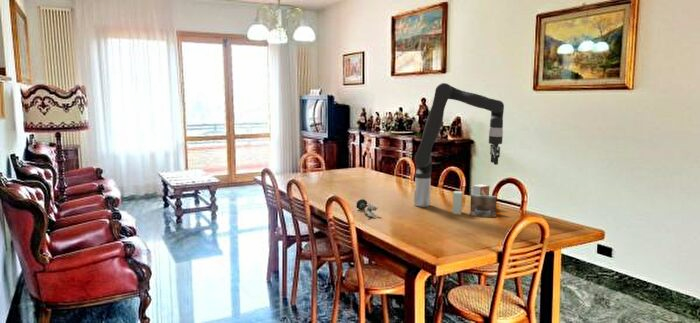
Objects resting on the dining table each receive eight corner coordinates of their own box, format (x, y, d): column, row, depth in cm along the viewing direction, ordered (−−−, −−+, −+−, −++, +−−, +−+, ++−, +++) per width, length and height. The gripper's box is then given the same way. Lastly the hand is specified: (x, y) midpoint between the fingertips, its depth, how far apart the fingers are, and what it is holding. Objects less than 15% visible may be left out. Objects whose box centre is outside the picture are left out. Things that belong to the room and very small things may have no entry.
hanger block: (452, 213, 269) (453, 193, 267) (453, 211, 275) (454, 191, 273) (460, 214, 268) (461, 193, 266) (461, 211, 273) (462, 191, 272)
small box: (479, 208, 282) (480, 186, 280) (471, 206, 287) (472, 185, 285) (488, 206, 286) (489, 185, 284) (480, 204, 291) (481, 184, 290)
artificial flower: (369, 211, 282) (374, 195, 280) (375, 225, 260) (381, 208, 258) (354, 207, 280) (359, 192, 278) (360, 221, 259) (365, 205, 257)
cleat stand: (469, 215, 264) (469, 198, 263) (470, 211, 274) (470, 194, 273) (495, 217, 260) (496, 200, 258) (495, 213, 270) (496, 196, 269)
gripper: (486, 134, 279) (485, 161, 281) (491, 136, 265) (490, 165, 267) (499, 134, 278) (498, 162, 281) (505, 136, 264) (503, 165, 266)
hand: (494, 163), depth 274 cm, fingers open, 8 cm apart
